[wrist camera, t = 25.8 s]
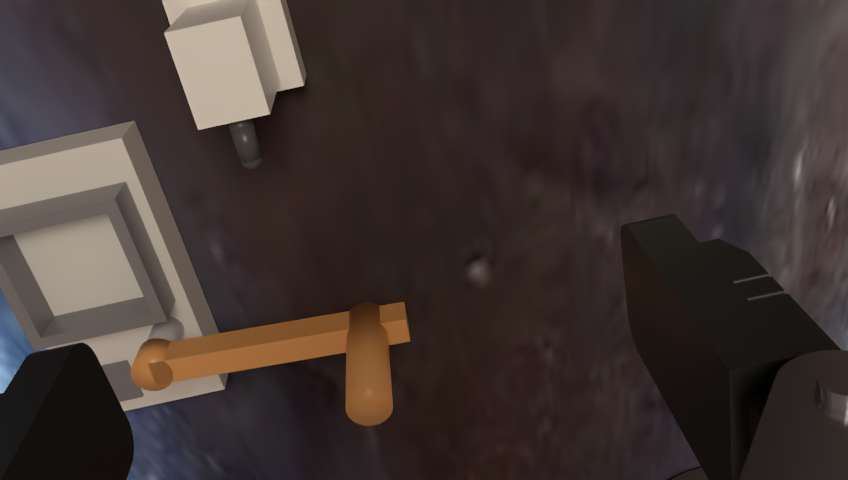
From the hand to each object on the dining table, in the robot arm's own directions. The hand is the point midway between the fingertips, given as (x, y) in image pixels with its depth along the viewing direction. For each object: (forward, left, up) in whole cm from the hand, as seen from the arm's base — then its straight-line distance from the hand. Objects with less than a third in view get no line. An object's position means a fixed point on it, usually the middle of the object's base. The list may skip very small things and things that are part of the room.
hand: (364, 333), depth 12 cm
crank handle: (-14, +8, -23) cm, 28 cm away
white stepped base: (-11, +16, -28) cm, 34 cm away
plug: (-1, +6, -28) cm, 29 cm away
